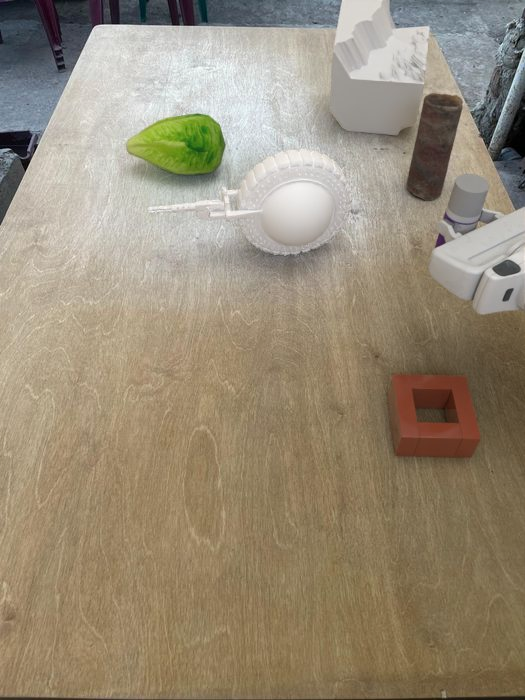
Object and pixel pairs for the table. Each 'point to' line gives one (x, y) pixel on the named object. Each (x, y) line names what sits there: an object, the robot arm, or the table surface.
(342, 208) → the tracked sphere vehicle
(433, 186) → the rusty brown cylinder
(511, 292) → the robot arm
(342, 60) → the white carved sculpture block
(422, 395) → the holder
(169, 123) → the lettuce
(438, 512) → the table surface
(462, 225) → the container
